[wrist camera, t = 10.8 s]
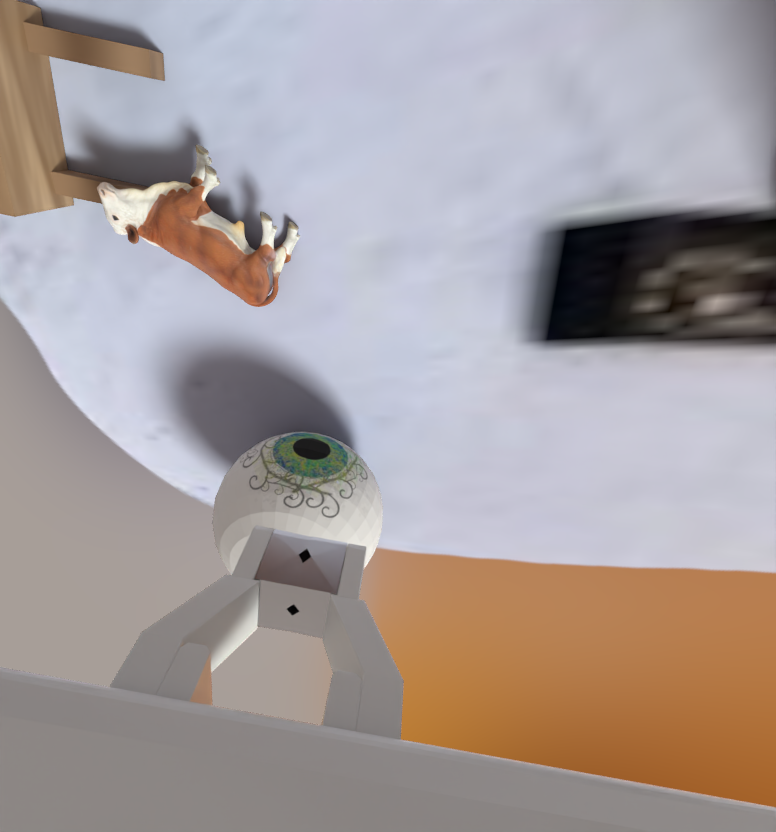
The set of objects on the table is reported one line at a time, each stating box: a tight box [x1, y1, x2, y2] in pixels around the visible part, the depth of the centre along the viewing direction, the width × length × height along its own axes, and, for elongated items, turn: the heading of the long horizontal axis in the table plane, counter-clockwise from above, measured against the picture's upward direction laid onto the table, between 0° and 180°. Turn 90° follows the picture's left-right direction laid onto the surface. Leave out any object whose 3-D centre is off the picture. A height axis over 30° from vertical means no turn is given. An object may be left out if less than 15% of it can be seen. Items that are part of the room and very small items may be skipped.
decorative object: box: [212, 432, 383, 574], centre depth 42 cm, size 15×15×15 cm
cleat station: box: [0, 0, 165, 217], centre depth 31 cm, size 10×12×6 cm
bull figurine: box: [97, 145, 300, 307], centre depth 34 cm, size 4×13×8 cm
